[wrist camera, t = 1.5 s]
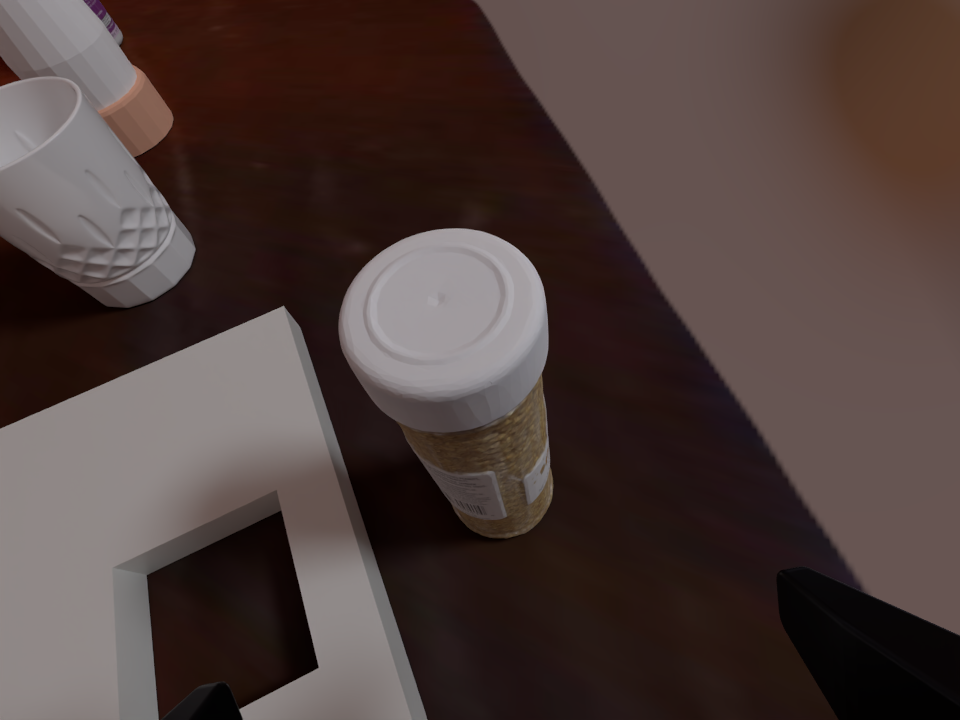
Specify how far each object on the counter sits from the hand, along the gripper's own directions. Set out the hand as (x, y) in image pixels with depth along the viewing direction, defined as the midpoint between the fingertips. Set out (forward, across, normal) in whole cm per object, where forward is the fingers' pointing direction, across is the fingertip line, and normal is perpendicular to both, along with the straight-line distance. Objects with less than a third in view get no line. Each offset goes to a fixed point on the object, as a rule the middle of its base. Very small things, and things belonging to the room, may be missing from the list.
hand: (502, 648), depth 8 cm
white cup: (+27, +20, -9) cm, 34 cm away
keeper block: (+12, +16, +5) cm, 21 cm away
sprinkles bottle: (+14, 0, +4) cm, 14 cm away
